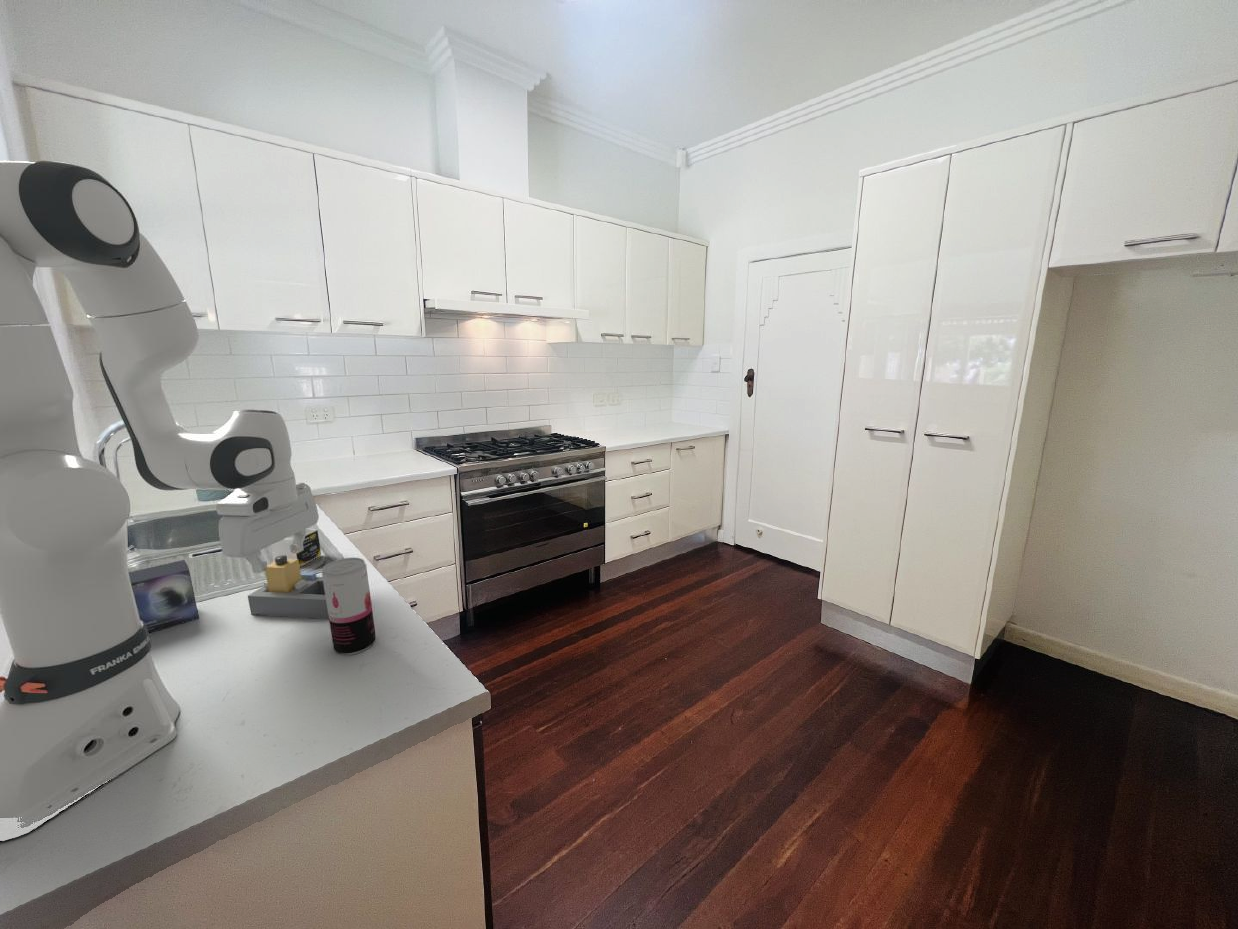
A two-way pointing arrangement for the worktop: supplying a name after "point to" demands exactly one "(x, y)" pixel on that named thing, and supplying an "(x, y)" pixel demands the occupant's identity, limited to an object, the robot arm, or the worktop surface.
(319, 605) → the grey compartment tray
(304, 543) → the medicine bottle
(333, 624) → the beverage can
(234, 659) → the worktop surface
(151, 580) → the small box
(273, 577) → the drawer with knob
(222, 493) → the teal cup
